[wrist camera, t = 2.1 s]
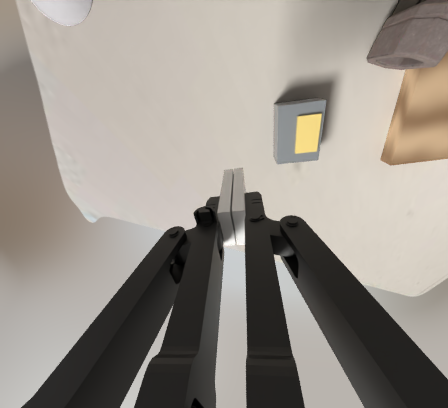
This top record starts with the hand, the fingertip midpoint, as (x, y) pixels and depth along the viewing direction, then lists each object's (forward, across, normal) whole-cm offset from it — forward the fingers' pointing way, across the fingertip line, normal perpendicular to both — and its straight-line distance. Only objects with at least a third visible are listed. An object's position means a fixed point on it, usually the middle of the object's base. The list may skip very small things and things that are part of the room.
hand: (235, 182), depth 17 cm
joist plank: (+16, +27, 0) cm, 32 cm away
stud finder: (+17, +9, 0) cm, 19 cm away
